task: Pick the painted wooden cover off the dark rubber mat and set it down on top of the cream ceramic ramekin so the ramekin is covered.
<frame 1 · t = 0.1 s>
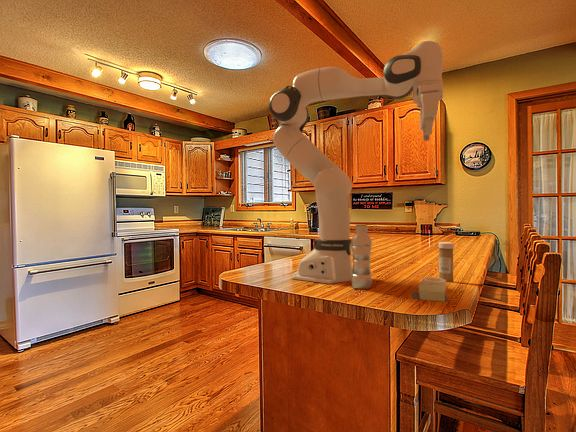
hand: (427, 137, 101), 48 cm above the table, tool pointing down, fingers open, 8 cm apart
mat: (429, 298, 87), on the table
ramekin: (433, 290, 95), on the table
cover: (431, 296, 87), point 1 cm above the table, touching mat
plastic bottle: (361, 289, 98), on the table
sprinkles bottle: (445, 282, 106), on the table
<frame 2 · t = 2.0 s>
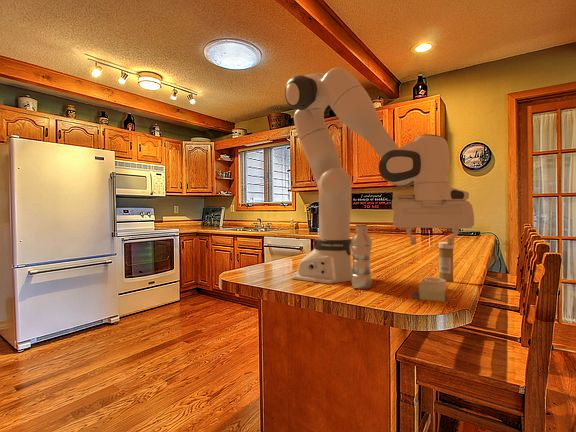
hand: (431, 244, 86), 15 cm above the table, tool pointing down, fingers open, 8 cm apart
nothing on the table moved.
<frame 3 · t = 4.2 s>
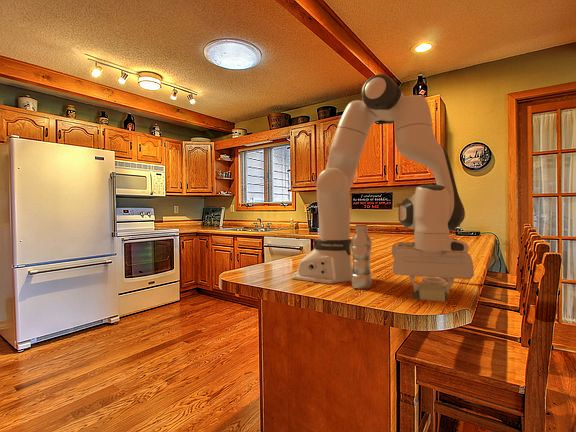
hand: (431, 292, 87), 2 cm above the table, tool pointing down, fingers closed on cover, 6 cm apart
cover: (431, 296, 87), point 1 cm above the table, touching gripper, mat
everything else where it was.
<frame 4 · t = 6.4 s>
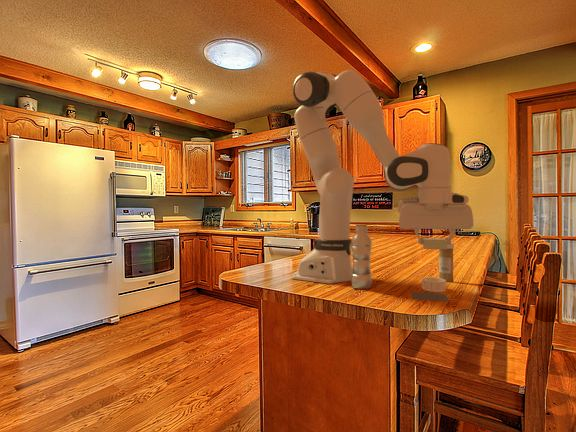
hand: (434, 244, 94), 14 cm above the table, tool pointing down, fingers closed on cover, 6 cm apart
cover: (434, 247, 94), point 13 cm above the table, touching gripper
everything else where it was.
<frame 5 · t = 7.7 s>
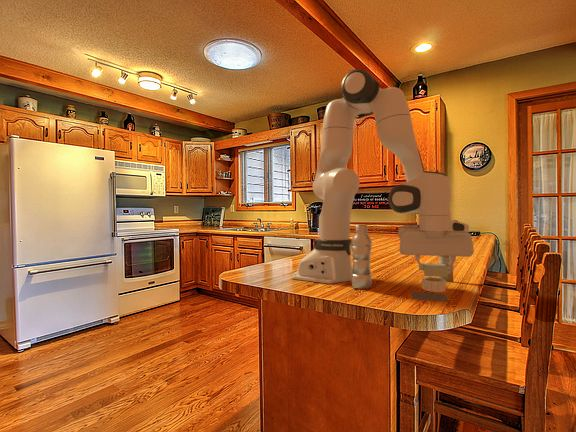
hand: (434, 270, 95), 6 cm above the table, tool pointing down, fingers closed on cover, 6 cm apart
cover: (434, 273, 95), point 5 cm above the table, touching gripper
everything else where it was.
when the fingers open (6 cm above the table, at t = 8.7 s): cover drops 1 cm, resting on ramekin.
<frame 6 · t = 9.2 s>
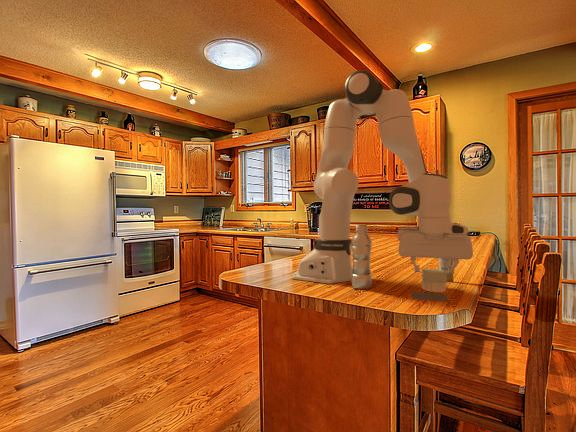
hand: (433, 272, 94), 6 cm above the table, tool pointing down, fingers open, 8 cm apart
cover: (433, 279, 95), point 3 cm above the table, touching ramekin
everything else where it was.
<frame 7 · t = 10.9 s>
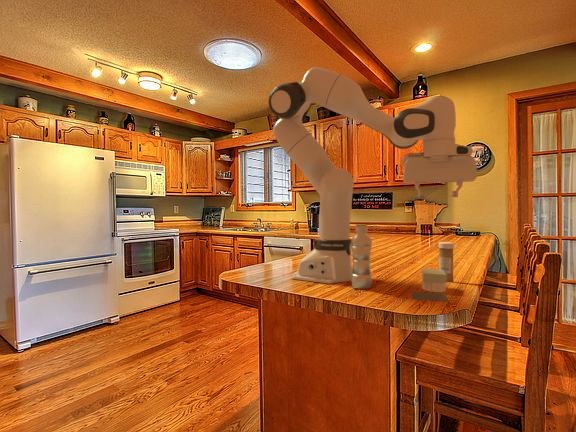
hand: (437, 197, 95), 28 cm above the table, tool pointing down, fingers open, 8 cm apart
nothing on the table moved.
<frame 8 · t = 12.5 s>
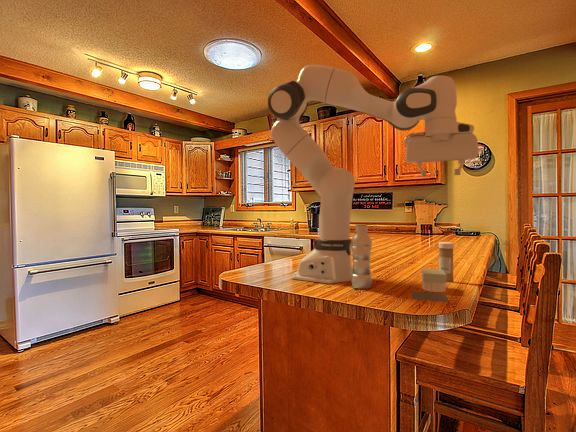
hand: (440, 175, 97), 35 cm above the table, tool pointing down, fingers open, 8 cm apart
nothing on the table moved.
at the end: cover 0.1 cm off-centre on the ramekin, point 3.5 cm above the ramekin's base; cover tilted 0°; the gripper is holding nothing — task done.
